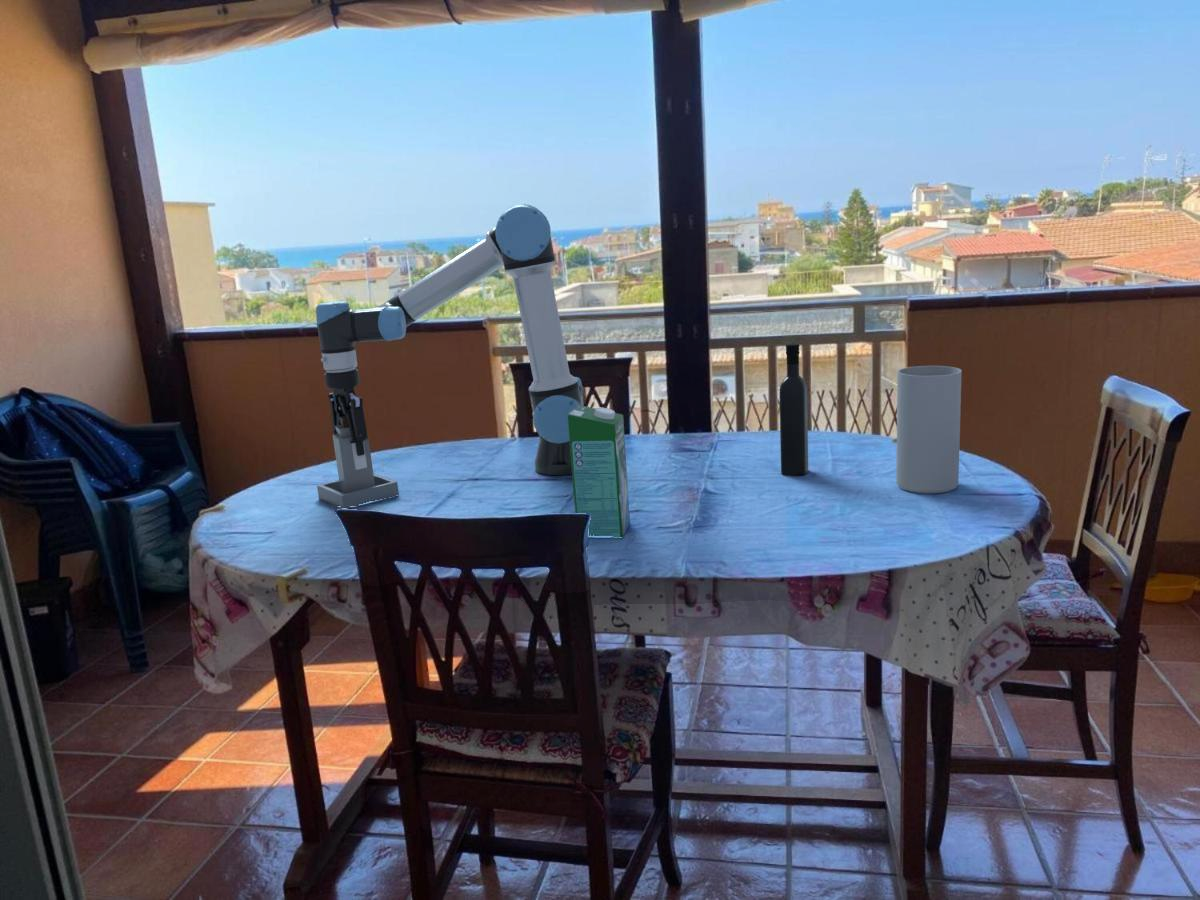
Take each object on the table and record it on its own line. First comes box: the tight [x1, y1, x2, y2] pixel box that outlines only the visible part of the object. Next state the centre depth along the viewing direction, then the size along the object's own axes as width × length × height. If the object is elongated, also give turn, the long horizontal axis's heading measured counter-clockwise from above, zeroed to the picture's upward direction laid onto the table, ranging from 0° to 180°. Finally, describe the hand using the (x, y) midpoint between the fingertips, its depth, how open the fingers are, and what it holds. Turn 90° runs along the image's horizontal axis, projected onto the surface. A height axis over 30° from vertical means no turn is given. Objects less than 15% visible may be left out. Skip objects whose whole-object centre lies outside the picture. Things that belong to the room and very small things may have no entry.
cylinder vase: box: [895, 365, 962, 495], centre depth 190 cm, size 12×12×25 cm
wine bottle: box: [778, 343, 809, 476], centre depth 207 cm, size 6×6×30 cm
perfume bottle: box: [332, 415, 375, 494], centre depth 213 cm, size 7×7×18 cm
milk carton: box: [568, 405, 631, 538], centre depth 177 cm, size 9×9×25 cm
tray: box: [316, 472, 400, 509], centre depth 215 cm, size 14×14×4 cm
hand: (354, 466), depth 214 cm, fingers closed on perfume bottle, 6 cm apart
